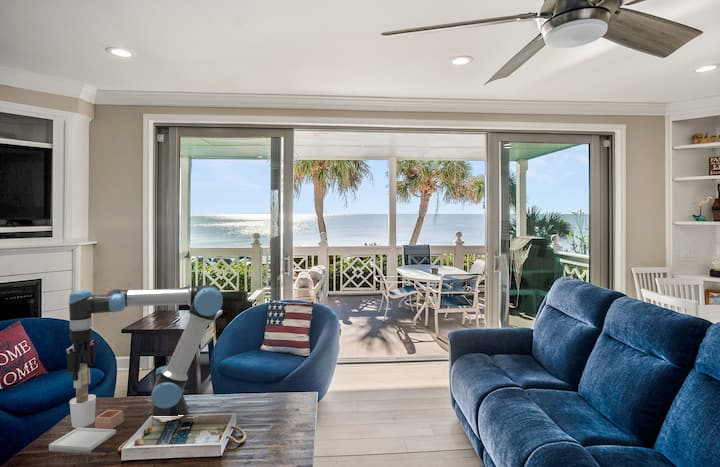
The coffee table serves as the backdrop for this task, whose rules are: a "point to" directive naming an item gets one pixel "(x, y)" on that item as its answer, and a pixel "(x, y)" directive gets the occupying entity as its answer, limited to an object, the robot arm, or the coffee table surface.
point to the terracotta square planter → (109, 419)
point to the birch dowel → (82, 385)
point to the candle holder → (82, 412)
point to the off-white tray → (81, 440)
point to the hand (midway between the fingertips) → (82, 385)
